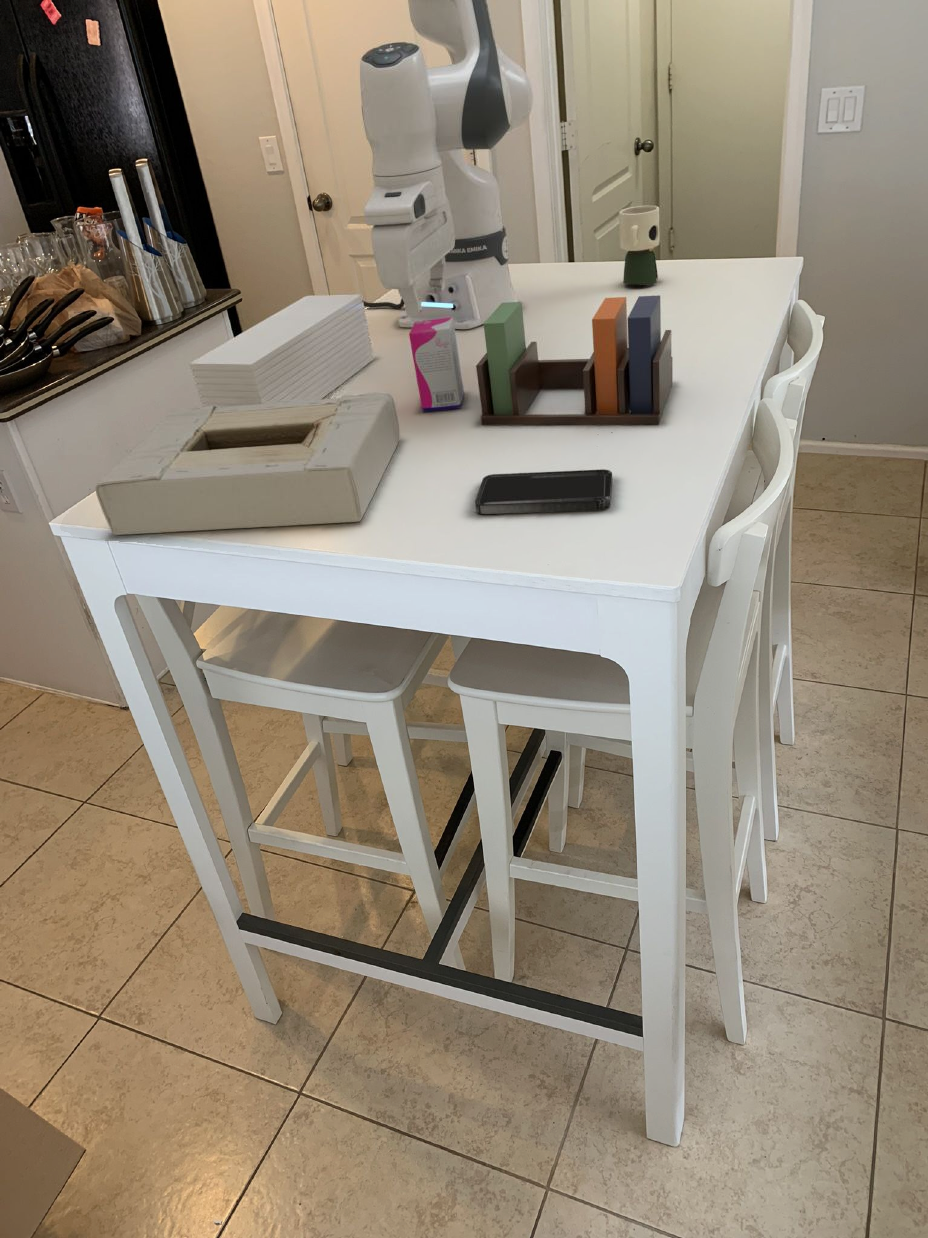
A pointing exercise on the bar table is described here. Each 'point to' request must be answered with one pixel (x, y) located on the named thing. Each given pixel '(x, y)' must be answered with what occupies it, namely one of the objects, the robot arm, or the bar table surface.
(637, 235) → the character mug
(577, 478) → the phone
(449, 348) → the supplement box
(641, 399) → the navy book
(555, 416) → the book rack
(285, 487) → the box
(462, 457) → the bar table surface
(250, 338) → the white long layered block
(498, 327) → the green book
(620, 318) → the orange book
